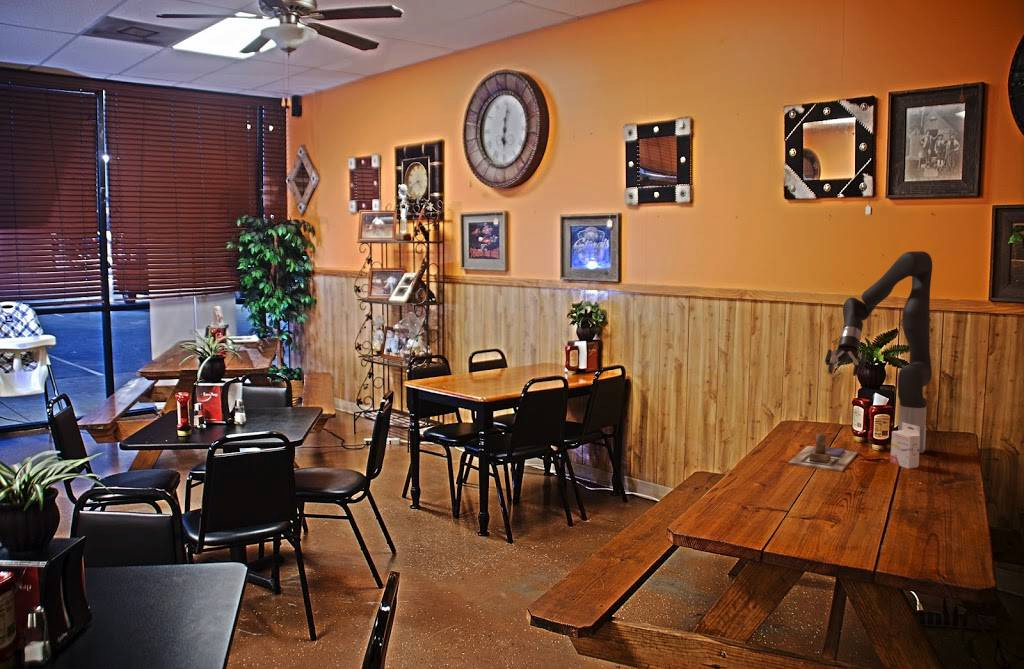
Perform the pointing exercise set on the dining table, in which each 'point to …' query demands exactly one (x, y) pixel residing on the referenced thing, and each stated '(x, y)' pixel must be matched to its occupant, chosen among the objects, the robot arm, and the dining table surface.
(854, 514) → the dining table surface
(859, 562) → the dining table surface
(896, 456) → the ink cartridge box
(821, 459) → the hand stamp
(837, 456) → the stamping board
